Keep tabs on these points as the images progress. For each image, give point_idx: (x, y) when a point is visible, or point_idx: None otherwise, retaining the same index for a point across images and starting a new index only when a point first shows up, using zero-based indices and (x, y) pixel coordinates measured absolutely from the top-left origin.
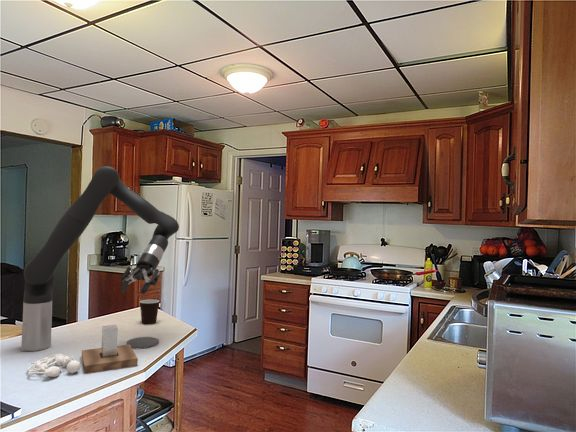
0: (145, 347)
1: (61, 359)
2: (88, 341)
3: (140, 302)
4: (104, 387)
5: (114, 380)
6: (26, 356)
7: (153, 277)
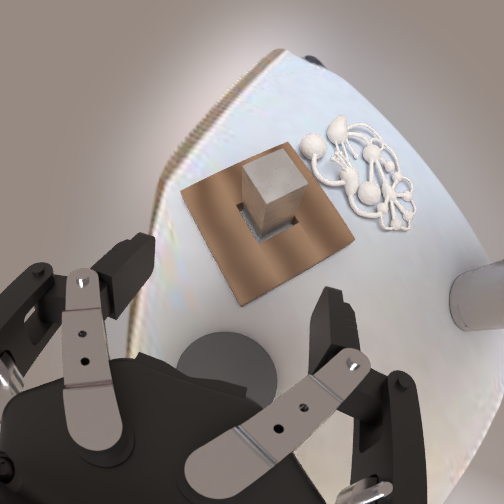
0: (202, 337)
1: (364, 182)
2: None
3: None
4: (217, 105)
5: (209, 128)
6: (452, 243)
7: (16, 291)
